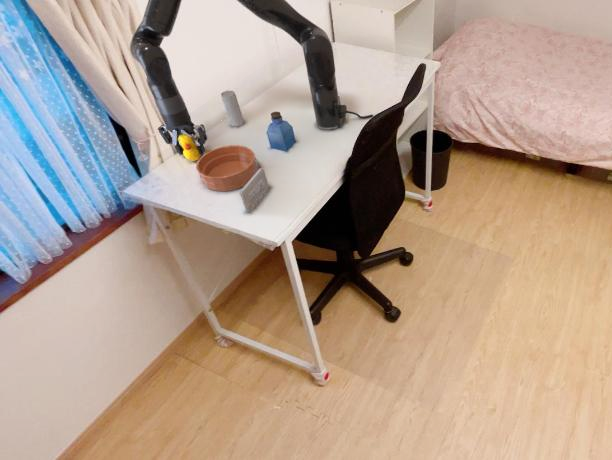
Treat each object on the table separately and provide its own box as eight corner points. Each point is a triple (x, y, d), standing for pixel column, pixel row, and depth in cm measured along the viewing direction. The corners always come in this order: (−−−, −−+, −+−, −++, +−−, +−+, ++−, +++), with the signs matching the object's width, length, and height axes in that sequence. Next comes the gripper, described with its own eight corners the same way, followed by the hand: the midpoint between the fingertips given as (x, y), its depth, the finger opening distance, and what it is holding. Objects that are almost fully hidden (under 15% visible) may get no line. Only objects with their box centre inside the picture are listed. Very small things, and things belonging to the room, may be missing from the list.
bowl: (264, 159, 144) (260, 145, 140) (250, 192, 132) (245, 177, 128) (213, 159, 144) (207, 145, 140) (194, 192, 131) (187, 177, 128)
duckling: (205, 166, 141) (194, 139, 134) (187, 170, 139) (175, 143, 132) (202, 148, 148) (191, 122, 141) (185, 151, 147) (173, 125, 140)
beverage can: (240, 128, 158) (230, 97, 149) (228, 126, 158) (217, 96, 150) (246, 121, 161) (237, 91, 153) (235, 119, 162) (225, 89, 153)
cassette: (265, 187, 133) (259, 166, 128) (271, 188, 133) (264, 167, 128) (245, 212, 125) (237, 191, 120) (251, 213, 125) (243, 193, 119)
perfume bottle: (296, 141, 151) (288, 111, 143) (286, 151, 147) (278, 120, 139) (280, 138, 153) (272, 107, 144) (270, 148, 148) (262, 116, 140)
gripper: (142, 113, 128) (166, 160, 140) (191, 113, 128) (210, 160, 140) (153, 101, 133) (175, 147, 145) (200, 101, 134) (217, 147, 145)
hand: (192, 153), depth 143 cm, fingers closed on duckling, 6 cm apart
